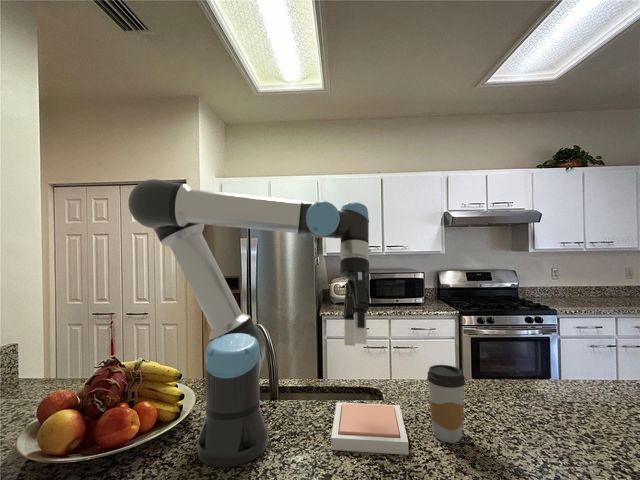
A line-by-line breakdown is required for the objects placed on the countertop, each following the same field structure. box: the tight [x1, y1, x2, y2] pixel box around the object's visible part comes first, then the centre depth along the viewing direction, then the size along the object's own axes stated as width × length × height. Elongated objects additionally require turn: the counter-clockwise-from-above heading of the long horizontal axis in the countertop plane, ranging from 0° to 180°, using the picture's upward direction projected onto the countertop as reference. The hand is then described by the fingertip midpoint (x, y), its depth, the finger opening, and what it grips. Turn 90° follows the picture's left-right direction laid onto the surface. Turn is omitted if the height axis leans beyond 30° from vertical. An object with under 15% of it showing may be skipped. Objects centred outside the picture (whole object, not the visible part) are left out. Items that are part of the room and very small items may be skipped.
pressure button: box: [339, 402, 399, 438], centre depth 79 cm, size 13×13×1 cm
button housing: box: [330, 401, 410, 455], centre depth 79 cm, size 16×16×3 cm
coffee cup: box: [426, 364, 466, 444], centre depth 77 cm, size 8×8×15 cm
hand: (354, 344), depth 80 cm, fingers open, 13 cm apart
